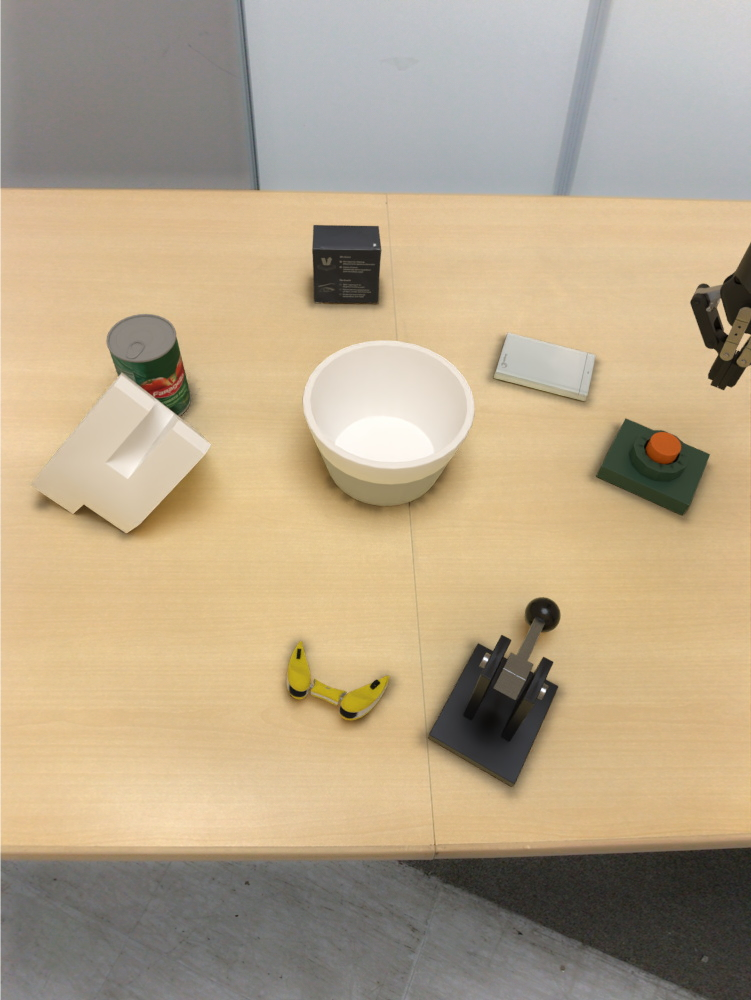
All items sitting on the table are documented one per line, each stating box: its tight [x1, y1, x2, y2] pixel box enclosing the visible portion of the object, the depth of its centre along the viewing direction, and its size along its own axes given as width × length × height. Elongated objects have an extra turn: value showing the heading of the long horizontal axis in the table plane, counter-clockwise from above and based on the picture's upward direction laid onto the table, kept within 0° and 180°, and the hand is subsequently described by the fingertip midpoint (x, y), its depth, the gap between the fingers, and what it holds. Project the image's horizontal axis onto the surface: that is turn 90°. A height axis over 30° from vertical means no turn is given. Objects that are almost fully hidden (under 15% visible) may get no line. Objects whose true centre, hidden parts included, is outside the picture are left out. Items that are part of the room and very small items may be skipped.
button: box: [646, 431, 681, 464], centre depth 88 cm, size 4×4×2 cm
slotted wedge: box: [29, 373, 212, 534], centre depth 81 cm, size 14×11×18 cm
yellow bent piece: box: [285, 640, 391, 721], centre depth 73 cm, size 10×6×4 cm, turn 68°
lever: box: [493, 596, 562, 700], centre depth 71 cm, size 15×4×4 cm
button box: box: [595, 417, 711, 516], centre depth 90 cm, size 11×9×4 cm
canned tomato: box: [105, 313, 192, 418], centre depth 90 cm, size 8×8×11 cm
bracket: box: [427, 634, 559, 788], centre depth 69 cm, size 11×9×12 cm
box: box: [311, 224, 382, 305], centre depth 104 cm, size 9×6×10 cm, turn 92°
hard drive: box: [493, 331, 597, 402], centre depth 100 cm, size 2×8×12 cm
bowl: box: [301, 339, 476, 507], centre depth 87 cm, size 19×19×11 cm
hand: (719, 383), depth 77 cm, fingers closed
